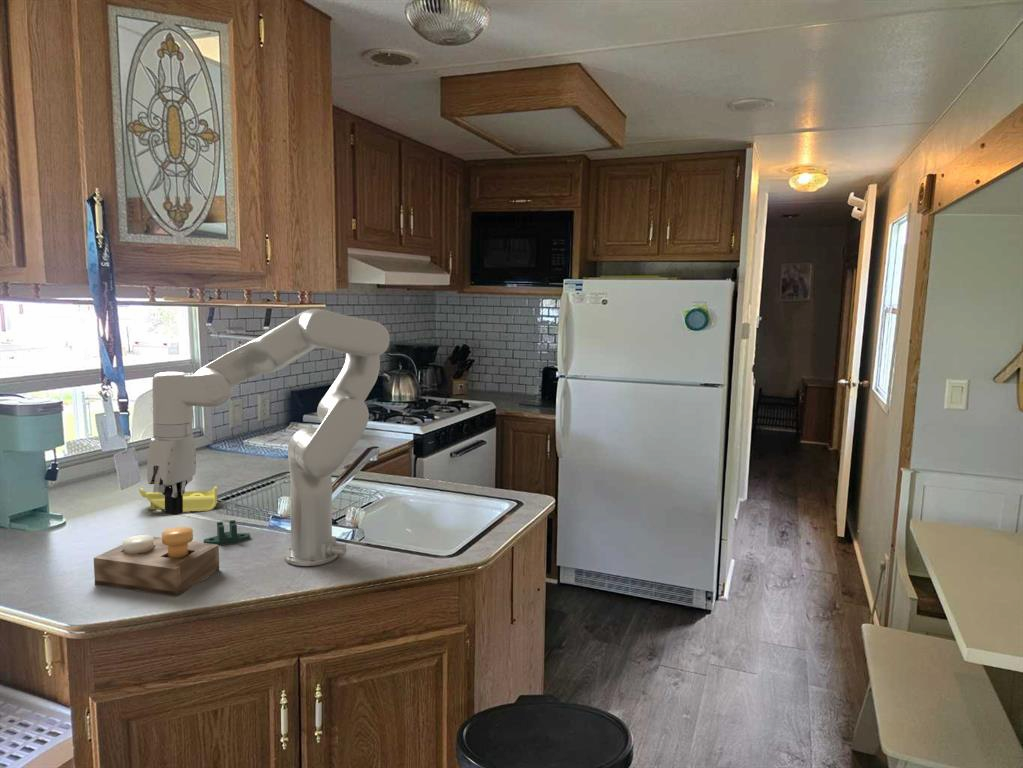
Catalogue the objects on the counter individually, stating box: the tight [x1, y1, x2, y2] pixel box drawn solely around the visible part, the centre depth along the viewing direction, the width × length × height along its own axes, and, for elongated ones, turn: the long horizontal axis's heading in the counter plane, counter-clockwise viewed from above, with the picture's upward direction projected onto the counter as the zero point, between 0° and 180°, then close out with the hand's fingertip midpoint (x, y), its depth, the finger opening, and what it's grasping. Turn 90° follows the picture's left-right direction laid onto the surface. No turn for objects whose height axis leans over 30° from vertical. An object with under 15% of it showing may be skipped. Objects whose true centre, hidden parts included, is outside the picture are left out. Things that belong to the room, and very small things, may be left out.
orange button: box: [161, 526, 194, 559], centre depth 146 cm, size 6×6×6 cm
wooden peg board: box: [93, 536, 220, 597], centre depth 148 cm, size 20×14×6 cm
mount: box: [203, 519, 251, 546], centre depth 170 cm, size 11×4×5 cm, turn 119°
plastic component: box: [139, 485, 218, 513], centre depth 194 cm, size 20×7×10 cm
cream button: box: [122, 534, 154, 554], centre depth 149 cm, size 6×6×6 cm
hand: (173, 513), depth 145 cm, fingers closed
